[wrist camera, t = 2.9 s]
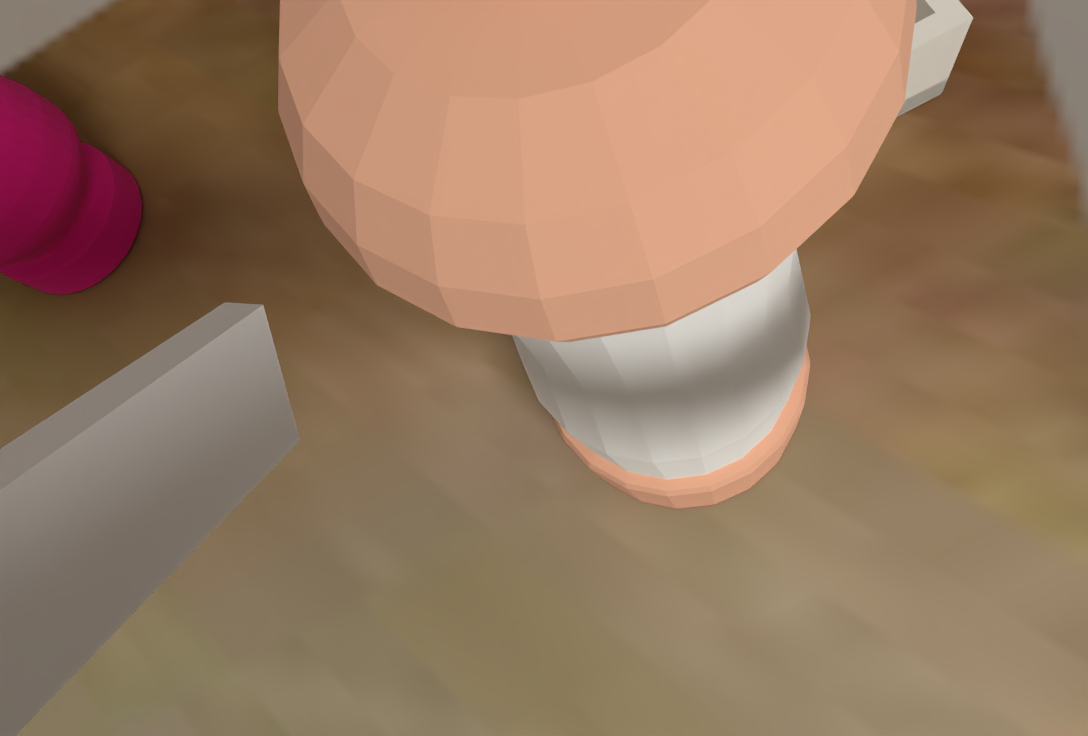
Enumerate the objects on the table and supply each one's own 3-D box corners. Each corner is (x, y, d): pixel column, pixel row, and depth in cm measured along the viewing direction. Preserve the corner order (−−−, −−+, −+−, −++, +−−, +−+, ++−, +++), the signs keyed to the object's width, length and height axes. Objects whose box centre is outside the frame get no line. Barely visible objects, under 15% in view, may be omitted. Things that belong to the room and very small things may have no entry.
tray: (485, 22, 30) (453, -48, 26) (760, -133, 29) (763, -226, 25) (612, 263, 26) (594, 216, 22) (941, 93, 24) (972, 17, 21)
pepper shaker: (757, 545, 22) (843, 364, 4) (534, 461, 24) (-28, 113, 6) (831, 320, 23) (1140, -563, 5) (612, 261, 26) (324, -493, 8)
